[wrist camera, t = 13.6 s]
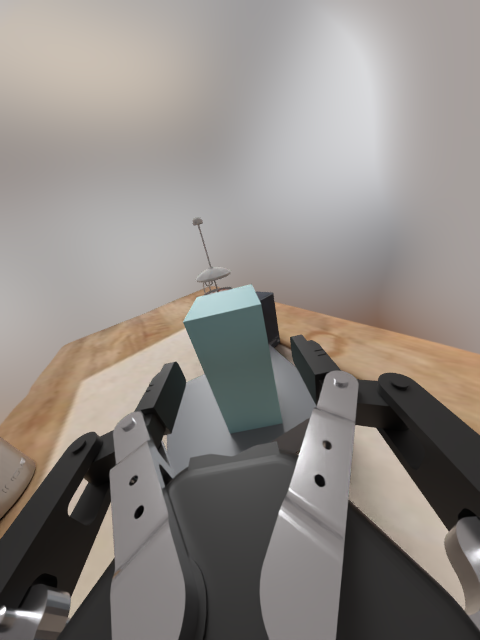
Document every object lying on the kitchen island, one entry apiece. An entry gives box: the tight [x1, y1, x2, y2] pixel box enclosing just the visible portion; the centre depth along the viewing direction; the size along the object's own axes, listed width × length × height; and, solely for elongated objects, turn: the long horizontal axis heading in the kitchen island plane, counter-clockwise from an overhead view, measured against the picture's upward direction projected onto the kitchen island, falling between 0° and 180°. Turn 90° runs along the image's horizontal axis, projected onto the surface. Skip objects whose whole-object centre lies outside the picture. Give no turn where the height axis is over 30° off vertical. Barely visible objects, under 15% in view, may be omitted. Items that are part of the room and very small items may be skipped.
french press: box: [193, 218, 233, 295], centre depth 39 cm, size 10×12×25 cm
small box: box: [256, 292, 280, 348], centre depth 33 cm, size 11×6×10 cm, turn 45°
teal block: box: [183, 285, 283, 434], centre depth 15 cm, size 5×5×12 cm
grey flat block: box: [167, 344, 317, 475], centre depth 20 cm, size 16×12×4 cm
